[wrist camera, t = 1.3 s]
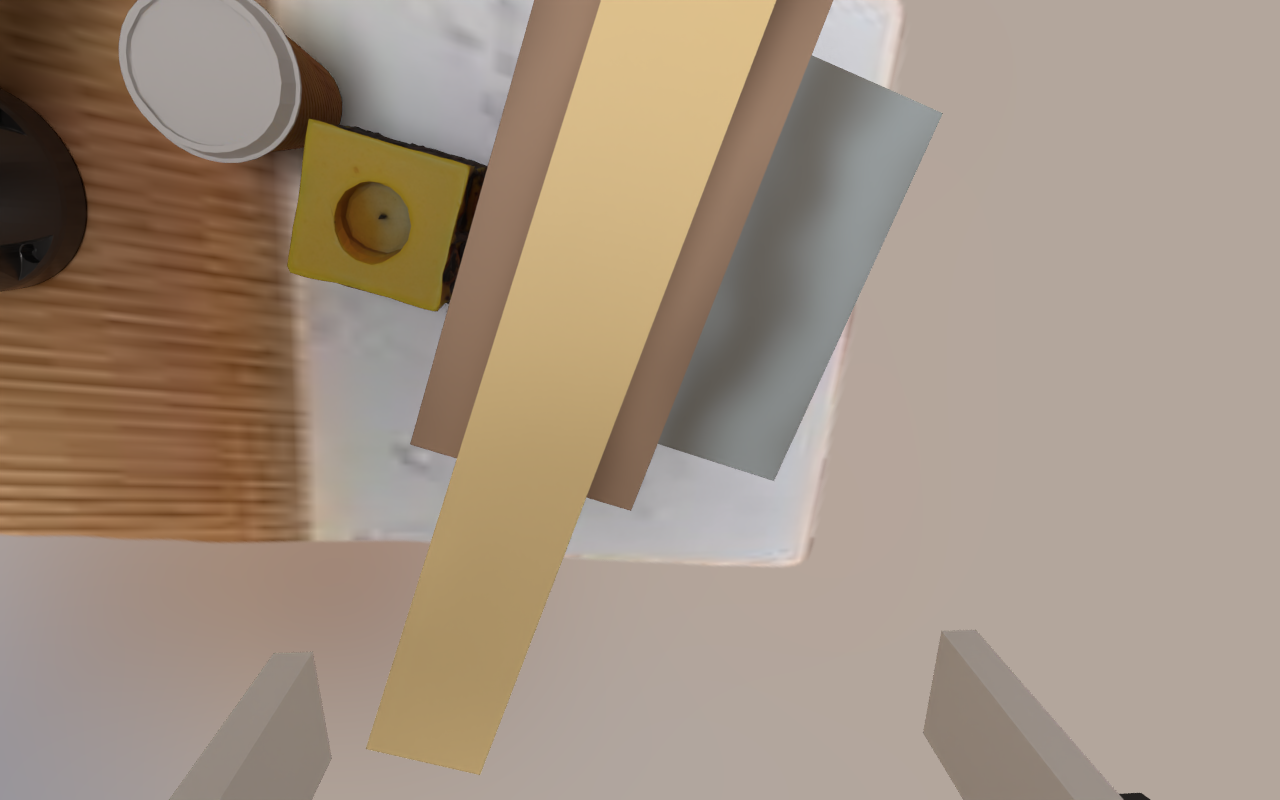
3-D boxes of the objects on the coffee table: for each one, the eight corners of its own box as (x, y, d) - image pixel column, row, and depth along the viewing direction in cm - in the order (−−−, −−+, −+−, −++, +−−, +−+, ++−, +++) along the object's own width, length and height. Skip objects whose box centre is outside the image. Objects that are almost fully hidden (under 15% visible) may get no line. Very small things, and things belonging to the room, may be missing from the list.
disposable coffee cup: (389, 88, 47) (321, 53, 35) (324, 196, 49) (240, 196, 37) (269, -4, 45) (155, -72, 33) (206, 114, 47) (79, 87, 35)
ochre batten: (392, 684, 25) (365, 748, 22) (649, -124, 17) (659, -188, 14) (493, 709, 25) (479, 774, 22) (783, -60, 18) (818, -109, 15)
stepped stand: (520, 299, 52) (410, 444, 22) (591, 71, 47) (577, -154, 17) (701, 362, 55) (828, 570, 24) (785, 151, 50) (1076, 80, 19)
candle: (499, 168, 49) (475, 161, 40) (471, 295, 52) (442, 316, 42) (365, 126, 48) (306, 109, 38) (343, 258, 50) (284, 273, 41)
